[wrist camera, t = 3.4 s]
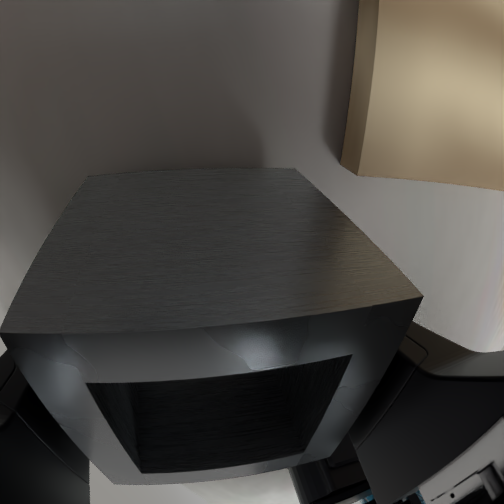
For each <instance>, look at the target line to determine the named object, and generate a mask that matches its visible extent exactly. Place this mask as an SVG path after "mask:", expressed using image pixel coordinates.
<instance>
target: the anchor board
mask: <svg viewBox="0 0 504 504" xmlns="http://www.w3.org/2000/svg"><path fill="white" fill-rule="evenodd" d="M340 165H342V166H344V167H345V168H347V169H348V170H350V171H351V172H352V173H354V174H355V175H357V176H369V177H383V178H396V179H408V180H419V181H429V182H438V183H447V184H456V185H464V186H471V187H479V188H486V189H492V190H499V191H504V0H359V10H358V24H357V36H356V47H355V57H354V67H353V76H352V85H351V93H350V101H349V109H348V116H347V123H346V130H345V137H344V144H343V150H342V156H341V162H340Z"/></svg>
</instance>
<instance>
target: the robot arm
mask: <svg viewBox="0 0 504 504" xmlns="http://www.w3.org/2000/svg"><path fill="white" fill-rule="evenodd" d="M288 470H289V473H290V475H291V478H292V481H293V484H294V487H295V490H296V493H297V496H298V499H299V502H300V504H352V503H354V502H357V501H359V500H361V499H364V498H366V497H368V496H370V495H372V494H373V496H374V498H375V499H373V500H371V501H369V502H366V503H364V504H422V503H421V501H420V499H419V497H418V496H417V494H416V492H417V491H418V490H419V491H420V493H421V495H422V497H423V499H424V501H425V503H426V504H504V351H496V352H488V353H482V352H475V351H472V350H469V349H466V348H464V347H462V346H460V345H458V344H456V343H454V342H452V341H450V340H448V339H446V338H444V337H442V336H440V335H438V334H436V333H434V332H432V331H430V330H428V329H426V328H424V327H422V326H420V325H418V324H417V323H415V322H413V321H412V322H411V324H410V326H409V328H408V330H407V332H406V334H405V336H404V338H403V340H402V342H401V344H400V346H399V348H398V350H397V352H396V354H395V356H394V357H393V359H392V361H391V363H390V365H389V366H388V368H387V370H386V372H385V373H384V375H383V377H382V379H381V380H380V382H379V384H378V385H377V387H376V389H375V390H374V392H373V394H372V395H371V397H370V399H369V400H368V402H367V403H366V405H365V407H364V408H363V410H362V411H361V413H360V414H359V416H358V417H357V419H356V420H355V422H354V423H353V425H352V426H351V428H350V429H349V431H348V432H347V434H346V435H345V436H344V438H343V439H342V441H341V442H340V444H339V445H338V446H337V448H336V449H335V450H334V452H333V453H332V454H331V456H330V457H327V458H324V459H320V460H316V461H313V462H309V463H305V464H301V465H297V466H293V467H289V468H288ZM88 484H89V458H88V457H87V456H86V455H85V454H84V453H83V452H82V451H81V450H80V449H79V447H78V446H77V445H76V444H75V443H74V442H73V441H72V439H71V438H70V437H69V436H68V435H67V434H66V432H65V431H64V430H63V429H62V427H61V426H60V425H59V424H58V422H57V421H56V420H55V419H54V417H53V416H52V415H51V413H50V412H49V411H48V410H47V408H46V407H45V405H44V404H43V403H42V401H41V400H40V399H39V397H38V396H37V394H36V393H35V392H34V390H33V389H32V387H31V386H30V384H29V383H28V381H27V380H26V378H25V377H24V375H23V374H22V372H21V370H20V369H19V367H18V366H17V364H16V362H15V361H14V359H13V358H12V356H11V354H10V352H9V351H8V349H7V350H6V351H5V353H4V354H3V355H2V356H1V357H0V504H90V491H89V490H90V487H89V485H88Z"/></svg>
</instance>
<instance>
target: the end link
mask: <svg viewBox="0 0 504 504" xmlns="http://www.w3.org/2000/svg"><path fill="white" fill-rule="evenodd" d="M422 299H423V295H422V294H421V293H420V291H419V290H418V289H417V288H416V287H415V286H414V285H413V284H412V283H411V282H410V280H409V279H408V278H407V277H406V276H405V275H404V274H403V273H402V272H401V271H400V270H399V269H398V268H397V267H396V265H395V264H394V263H393V262H392V261H391V260H390V259H389V258H388V257H387V256H386V255H385V254H384V253H383V252H382V251H381V250H380V249H379V248H378V247H377V246H376V245H375V244H374V243H373V242H372V241H371V240H370V239H369V238H368V237H367V236H366V235H365V234H364V233H363V232H362V231H361V230H360V229H359V228H358V227H357V226H356V225H355V224H354V223H353V222H352V221H351V220H350V219H349V218H348V217H347V216H346V215H345V214H344V213H343V212H342V211H341V210H340V209H338V208H337V207H336V206H335V205H334V204H333V203H332V202H331V201H330V200H329V199H328V198H327V197H326V196H325V195H323V194H322V193H321V192H320V191H319V190H318V189H317V188H316V187H315V186H314V185H313V184H311V183H310V182H309V181H308V180H307V179H306V178H305V177H304V176H303V175H301V174H300V173H299V172H298V171H297V170H296V169H284V168H219V169H185V170H163V171H146V172H132V173H119V174H107V175H96V176H88V177H87V179H86V180H85V181H84V183H83V184H82V186H81V187H80V188H79V190H78V191H77V193H76V194H75V195H74V197H73V198H72V200H71V201H70V203H69V204H68V206H67V207H66V209H65V210H64V212H63V213H62V215H61V216H60V218H59V219H58V221H57V223H56V224H55V226H54V227H53V229H52V230H51V232H50V234H49V235H48V237H47V239H46V240H45V242H44V244H43V245H42V247H41V249H40V250H39V252H38V254H37V256H36V257H35V259H34V261H33V263H32V265H31V266H30V268H29V270H28V272H27V274H26V276H25V278H24V279H23V281H22V283H21V285H20V287H19V289H18V291H17V293H16V295H15V297H14V299H13V301H12V303H11V306H10V308H9V310H8V312H7V314H6V316H5V319H4V321H3V323H2V325H1V328H0V337H1V338H2V340H3V342H4V344H5V346H6V347H7V349H8V351H9V352H10V354H11V356H12V358H13V359H14V361H15V362H16V364H17V366H18V367H19V369H20V370H21V372H22V374H23V375H24V377H25V378H26V380H27V381H28V383H29V384H30V386H31V387H32V389H33V390H34V392H35V393H36V394H37V396H38V397H39V399H40V400H41V401H42V403H43V404H44V405H45V407H46V408H47V410H48V411H49V412H50V413H51V415H52V416H53V417H54V419H55V420H56V421H57V422H58V424H59V425H60V426H61V427H62V429H63V430H64V431H65V432H66V434H67V435H68V436H69V437H70V438H71V439H72V441H73V442H74V443H75V444H76V445H77V446H78V447H79V449H80V450H81V451H82V452H83V453H84V454H85V455H86V456H87V457H88V458H89V460H90V461H91V462H92V463H93V464H94V465H95V466H96V467H97V468H98V469H99V470H100V471H101V472H102V473H103V474H104V475H105V476H106V477H107V478H108V479H109V480H110V481H111V482H112V483H113V484H122V485H123V484H124V485H125V484H126V485H155V484H179V483H193V482H204V481H213V480H221V479H229V478H236V477H242V476H248V475H254V474H260V473H265V472H270V471H275V470H280V469H284V468H289V467H293V466H297V465H301V464H305V463H309V462H313V461H316V460H320V459H324V458H327V457H330V456H331V454H332V453H333V452H334V450H335V449H336V448H337V446H338V445H339V444H340V442H341V441H342V439H343V438H344V436H345V435H346V434H347V432H348V431H349V429H350V428H351V426H352V425H353V423H354V422H355V420H356V419H357V417H358V416H359V414H360V413H361V411H362V410H363V408H364V407H365V405H366V403H367V402H368V400H369V399H370V397H371V395H372V394H373V392H374V390H375V389H376V387H377V385H378V384H379V382H380V380H381V379H382V377H383V375H384V373H385V372H386V370H387V368H388V366H389V365H390V363H391V361H392V359H393V357H394V356H395V354H396V352H397V350H398V348H399V346H400V344H401V342H402V340H403V338H404V336H405V334H406V332H407V330H408V328H409V326H410V324H411V322H412V320H413V318H414V316H415V314H416V312H417V310H418V308H419V305H420V303H421V301H422Z"/></svg>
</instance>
